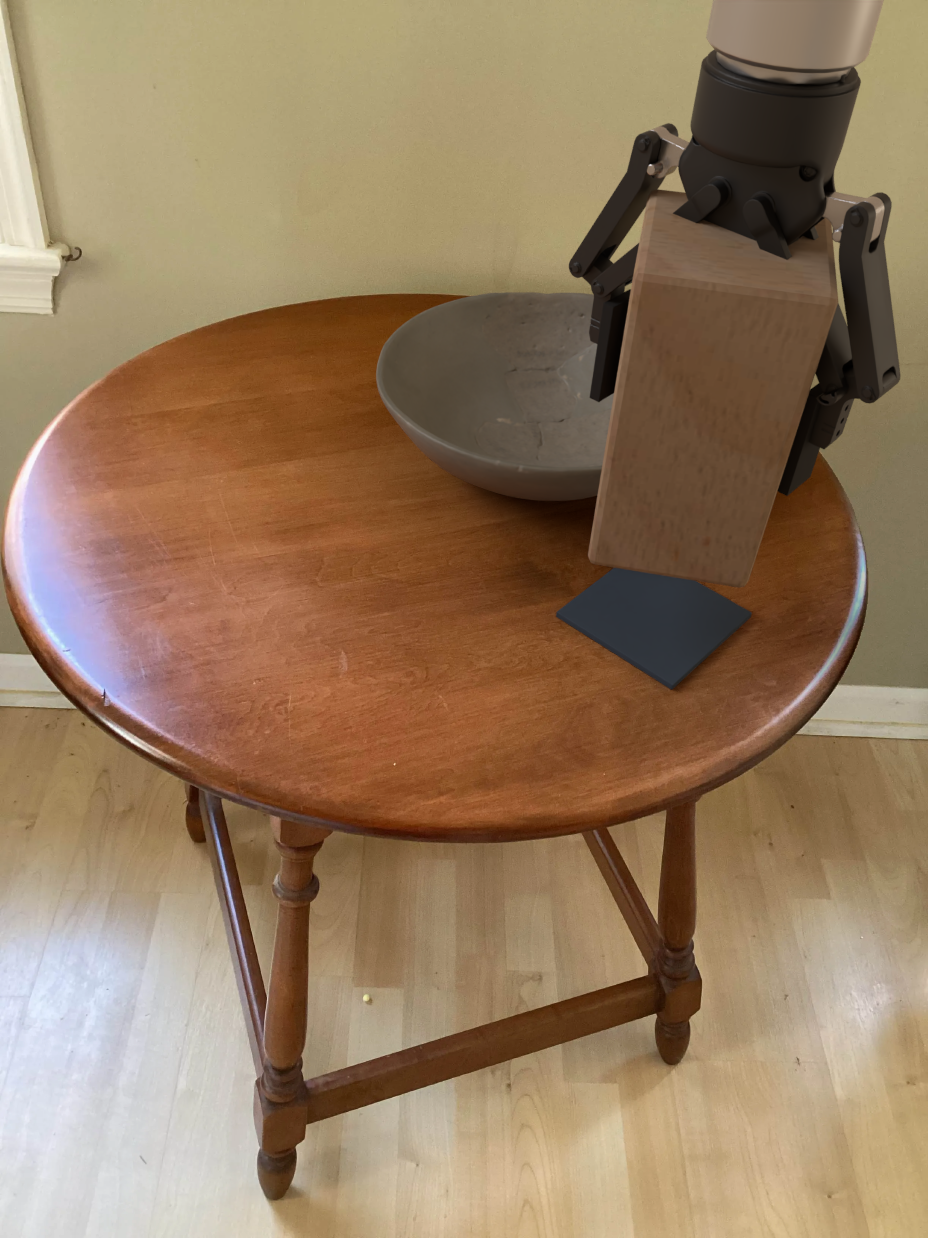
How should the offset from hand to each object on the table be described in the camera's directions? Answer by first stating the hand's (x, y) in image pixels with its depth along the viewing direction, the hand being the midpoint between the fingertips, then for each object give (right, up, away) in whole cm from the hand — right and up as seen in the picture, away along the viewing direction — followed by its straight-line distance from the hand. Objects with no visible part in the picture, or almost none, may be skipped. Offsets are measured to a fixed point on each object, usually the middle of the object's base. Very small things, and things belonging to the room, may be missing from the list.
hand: (695, 436), depth 64 cm
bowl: (-8, +3, +25) cm, 26 cm away
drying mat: (-1, -11, +11) cm, 15 cm away
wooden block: (-1, -5, +5) cm, 7 cm away
